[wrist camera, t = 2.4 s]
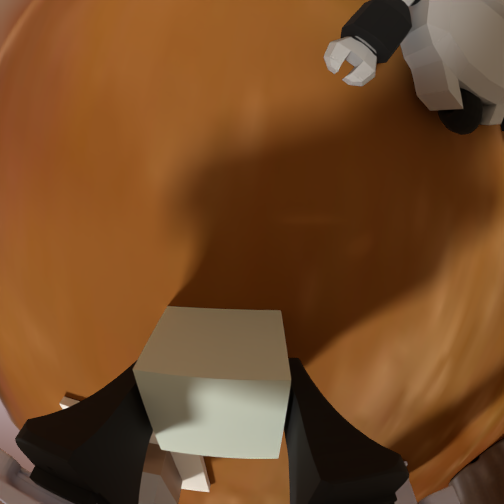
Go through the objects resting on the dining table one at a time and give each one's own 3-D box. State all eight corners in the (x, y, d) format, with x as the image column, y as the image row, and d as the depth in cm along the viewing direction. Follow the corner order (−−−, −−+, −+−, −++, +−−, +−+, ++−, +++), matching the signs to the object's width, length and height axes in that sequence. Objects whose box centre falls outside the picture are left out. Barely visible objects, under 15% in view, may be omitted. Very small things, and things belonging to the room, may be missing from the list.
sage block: (280, 309, 12) (291, 380, 8) (274, 389, 14) (278, 458, 9) (168, 304, 12) (132, 369, 8) (180, 384, 14) (161, 449, 9)
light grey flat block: (160, 475, 12) (152, 507, 10) (177, 504, 14) (173, 529, 12) (78, 452, 12) (66, 478, 10) (108, 487, 14) (100, 509, 12)
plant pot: (454, 463, 19) (491, 553, 4) (535, 407, 18) (579, 472, 3) (425, 501, 24) (446, 567, 9) (498, 459, 23) (526, 514, 7)
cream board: (196, 424, 15) (194, 434, 14) (210, 485, 18) (209, 492, 17) (64, 396, 15) (59, 403, 14) (106, 464, 18) (104, 470, 17)
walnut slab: (168, 446, 15) (160, 475, 12) (182, 480, 16) (177, 504, 14) (90, 427, 15) (78, 452, 12) (115, 466, 16) (108, 487, 14)
